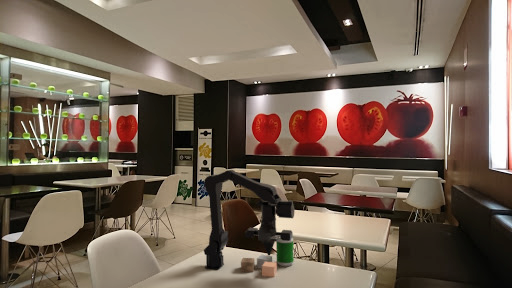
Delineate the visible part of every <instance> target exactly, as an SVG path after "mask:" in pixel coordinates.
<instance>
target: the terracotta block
mask: <svg viewBox="0 0 512 288" xmlns="http://www.w3.org/2000/svg"><path fill="white" fill-rule="evenodd" d="M277 273H278V263H277V261H276V262H274V261H272V262H266V261H265V262H264V264H263V265H262V268H261V276H263V277H269V278H270V277H271V278H275V276H276V275H277Z"/></svg>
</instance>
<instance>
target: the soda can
mask: <svg viewBox="0 0 512 288" xmlns="http://www.w3.org/2000/svg"><path fill="white" fill-rule="evenodd" d="M275 243H276V263H277V265H279V266H281V267H290V266H292V265H293V264H294V262H295V259H294V258H295V255H294V253H295V252H294V251H295V250H294V237H292V239H291V240H290V241H283V240H281V238H280V237H279V239H278V240H277V241H276V242H275Z"/></svg>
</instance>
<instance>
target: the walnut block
mask: <svg viewBox="0 0 512 288" xmlns="http://www.w3.org/2000/svg"><path fill="white" fill-rule="evenodd" d="M254 270H255V257H243V258H242V259H241V261H240V272H244V273H246V272H248V273H253V272H254Z"/></svg>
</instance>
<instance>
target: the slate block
mask: <svg viewBox="0 0 512 288" xmlns="http://www.w3.org/2000/svg"><path fill="white" fill-rule="evenodd" d="M265 261H266V262H273V255H268V254H267V255H266V254H261V255H259V256H258V257H257V258H256V268H259V269H262V265H263V264H264V262H265Z"/></svg>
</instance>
